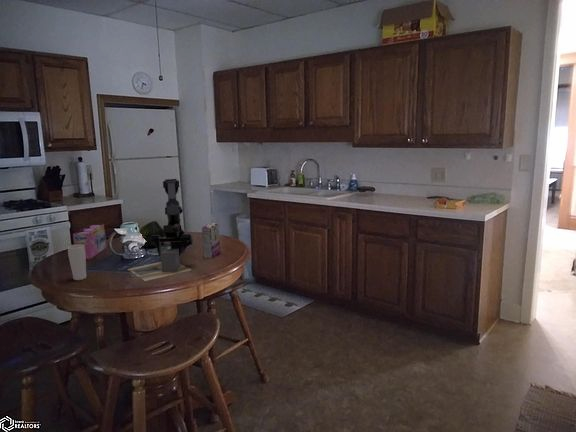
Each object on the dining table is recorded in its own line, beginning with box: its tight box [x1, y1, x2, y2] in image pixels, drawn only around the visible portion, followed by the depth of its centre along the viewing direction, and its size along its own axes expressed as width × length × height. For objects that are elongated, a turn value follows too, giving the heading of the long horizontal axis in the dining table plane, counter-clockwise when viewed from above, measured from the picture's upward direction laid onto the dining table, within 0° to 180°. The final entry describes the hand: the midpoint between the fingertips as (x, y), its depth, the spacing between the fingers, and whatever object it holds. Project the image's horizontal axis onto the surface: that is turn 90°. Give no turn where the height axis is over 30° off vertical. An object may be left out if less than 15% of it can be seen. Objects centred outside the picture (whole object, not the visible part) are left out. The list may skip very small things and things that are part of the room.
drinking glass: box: [67, 244, 87, 281], centre depth 187 cm, size 7×7×15 cm
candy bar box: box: [201, 222, 221, 259], centre depth 217 cm, size 11×5×16 cm, turn 168°
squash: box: [139, 220, 166, 248], centre depth 240 cm, size 14×15×15 cm
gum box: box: [72, 223, 108, 260], centre depth 229 cm, size 24×8×14 cm, turn 3°
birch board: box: [127, 261, 192, 282], centre depth 197 cm, size 22×22×1 cm
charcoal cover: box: [160, 248, 181, 272], centre depth 195 cm, size 7×7×9 cm
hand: (169, 255), depth 194 cm, fingers open, 9 cm apart
